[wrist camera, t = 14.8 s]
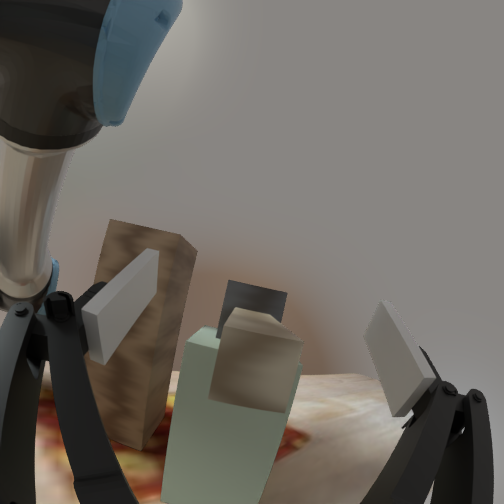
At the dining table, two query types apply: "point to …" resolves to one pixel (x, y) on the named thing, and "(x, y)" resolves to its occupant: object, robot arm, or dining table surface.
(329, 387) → the dining table surface
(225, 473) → the pale green block
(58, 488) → the dining table surface
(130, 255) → the stand tall
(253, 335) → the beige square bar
